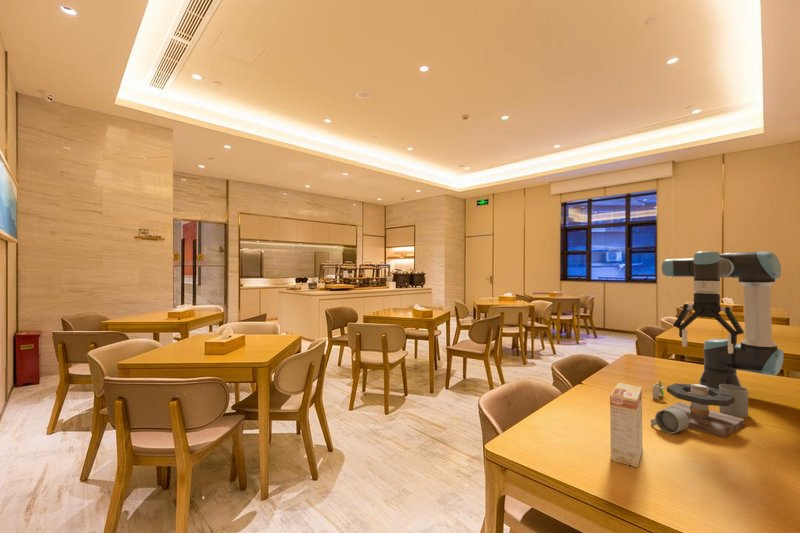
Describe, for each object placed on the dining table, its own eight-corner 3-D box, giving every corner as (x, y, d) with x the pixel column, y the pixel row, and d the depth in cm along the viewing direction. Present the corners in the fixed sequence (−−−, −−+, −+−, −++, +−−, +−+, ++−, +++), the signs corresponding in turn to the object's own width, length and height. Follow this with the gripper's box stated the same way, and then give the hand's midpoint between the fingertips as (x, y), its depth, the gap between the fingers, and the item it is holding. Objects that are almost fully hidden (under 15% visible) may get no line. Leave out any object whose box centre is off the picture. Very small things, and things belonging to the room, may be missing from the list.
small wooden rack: (668, 398, 160) (668, 380, 160) (663, 401, 156) (663, 383, 156) (658, 395, 163) (658, 378, 163) (652, 399, 159) (652, 380, 159)
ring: (680, 386, 147) (680, 381, 147) (739, 399, 132) (739, 394, 132) (660, 394, 137) (660, 388, 137) (721, 409, 122) (721, 403, 122)
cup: (753, 418, 137) (753, 391, 137) (728, 416, 139) (728, 390, 139) (737, 409, 145) (737, 384, 146) (714, 408, 147) (714, 383, 147)
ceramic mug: (691, 432, 125) (690, 409, 125) (679, 437, 121) (679, 414, 121) (657, 421, 134) (657, 400, 135) (645, 426, 130) (645, 404, 131)
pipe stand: (679, 406, 148) (679, 375, 148) (744, 424, 131) (744, 388, 131) (656, 417, 138) (656, 383, 138) (724, 438, 121) (724, 399, 121)
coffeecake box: (617, 441, 118) (617, 382, 118) (643, 448, 114) (643, 386, 114) (609, 460, 107) (608, 394, 107) (637, 468, 102) (637, 399, 102)
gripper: (663, 291, 143) (663, 344, 143) (748, 294, 122) (748, 357, 122) (671, 290, 147) (671, 342, 147) (755, 294, 127) (755, 354, 126)
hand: (706, 349), depth 134 cm, fingers open, 13 cm apart
